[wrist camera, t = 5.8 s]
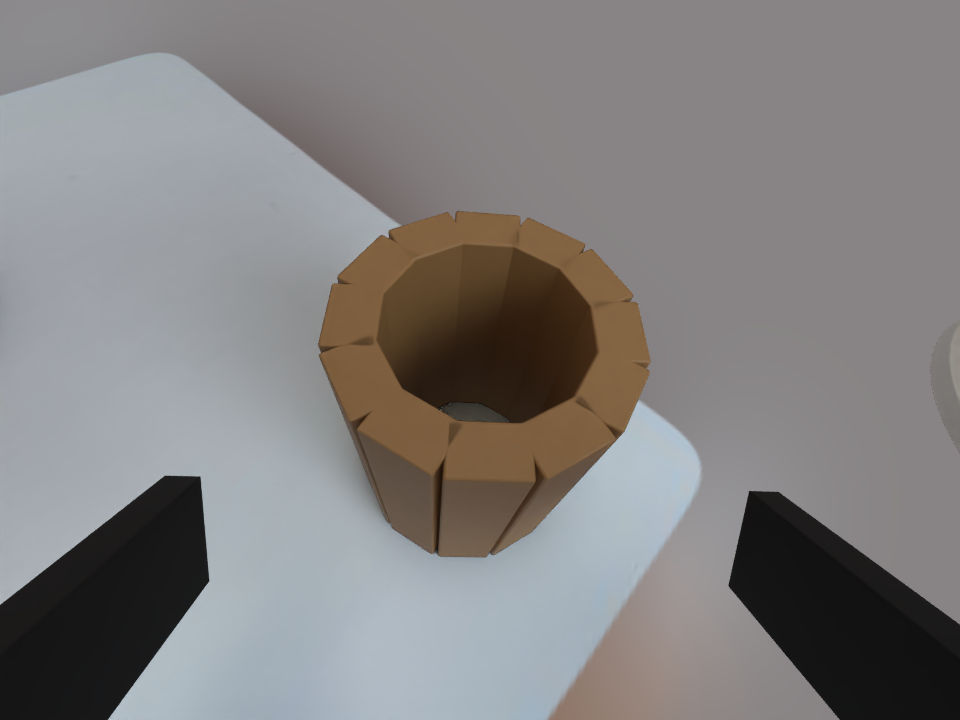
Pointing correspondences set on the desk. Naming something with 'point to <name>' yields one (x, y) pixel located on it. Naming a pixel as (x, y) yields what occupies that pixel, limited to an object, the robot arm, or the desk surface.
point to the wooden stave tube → (480, 373)
